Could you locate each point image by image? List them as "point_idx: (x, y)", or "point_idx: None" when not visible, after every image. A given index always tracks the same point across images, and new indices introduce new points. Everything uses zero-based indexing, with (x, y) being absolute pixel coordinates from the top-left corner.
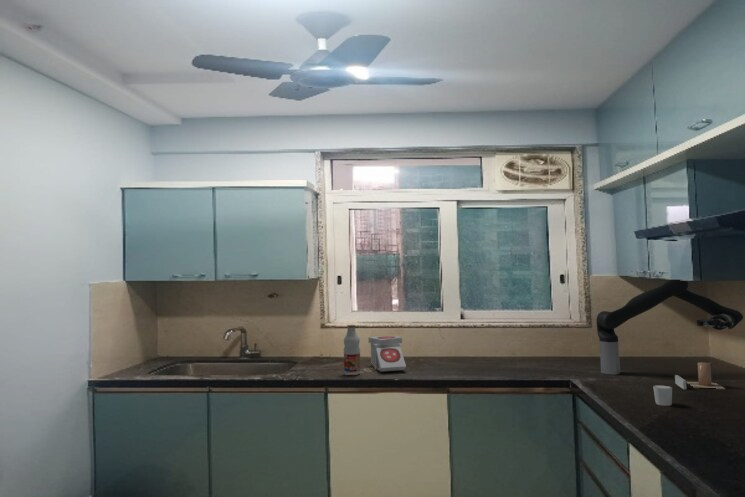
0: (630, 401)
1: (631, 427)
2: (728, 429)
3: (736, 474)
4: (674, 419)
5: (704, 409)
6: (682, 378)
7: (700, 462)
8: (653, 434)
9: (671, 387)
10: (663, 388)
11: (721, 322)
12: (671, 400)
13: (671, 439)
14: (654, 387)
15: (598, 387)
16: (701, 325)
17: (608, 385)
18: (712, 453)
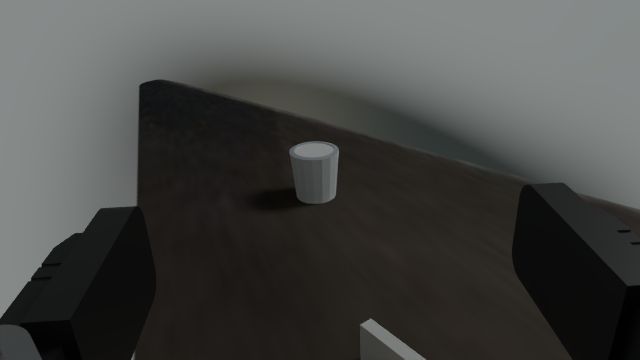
0: (383, 173)
1: (286, 111)
2: (154, 156)
3: (140, 94)
4: (249, 148)
5: (217, 209)
6: (401, 355)
7: (176, 94)
8: (249, 110)
9: (294, 156)
10: (304, 143)
11: (85, 251)
12: (295, 185)
13: (222, 110)
14: (328, 143)
15: None
16: (533, 286)
17: None
18: (167, 107)
